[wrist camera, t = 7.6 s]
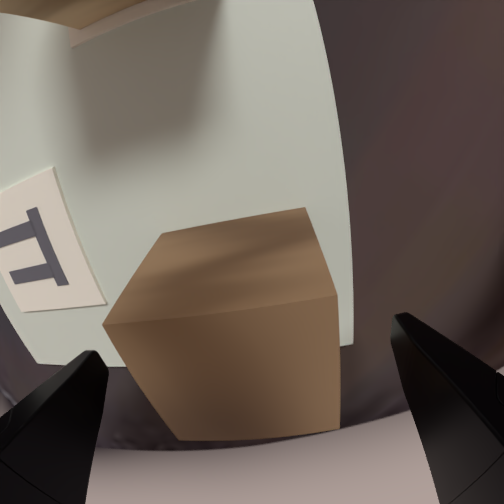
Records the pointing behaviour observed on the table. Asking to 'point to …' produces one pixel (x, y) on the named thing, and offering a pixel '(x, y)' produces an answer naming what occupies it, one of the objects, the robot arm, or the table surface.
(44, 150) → the board
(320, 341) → the walnut block
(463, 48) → the table surface
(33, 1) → the oak block
